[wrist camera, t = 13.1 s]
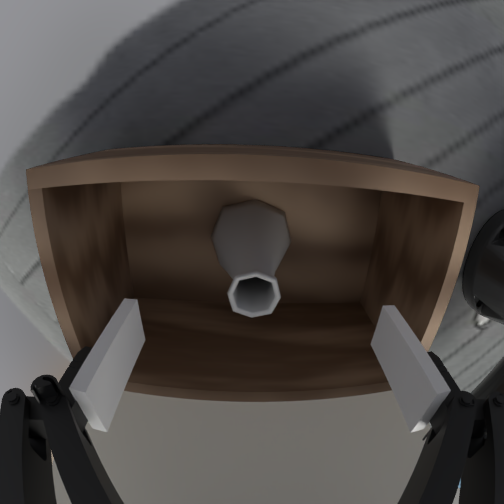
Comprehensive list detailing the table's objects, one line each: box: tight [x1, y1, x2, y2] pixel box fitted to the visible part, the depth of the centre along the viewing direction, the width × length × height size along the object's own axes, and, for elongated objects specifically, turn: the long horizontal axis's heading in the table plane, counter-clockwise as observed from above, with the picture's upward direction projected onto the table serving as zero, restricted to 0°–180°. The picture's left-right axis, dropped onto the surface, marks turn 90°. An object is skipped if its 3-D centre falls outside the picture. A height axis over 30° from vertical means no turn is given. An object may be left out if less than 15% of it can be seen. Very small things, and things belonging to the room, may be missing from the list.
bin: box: [26, 144, 479, 402], centre depth 21 cm, size 16×26×12 cm, turn 88°
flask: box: [211, 199, 291, 318], centre depth 22 cm, size 7×7×10 cm
